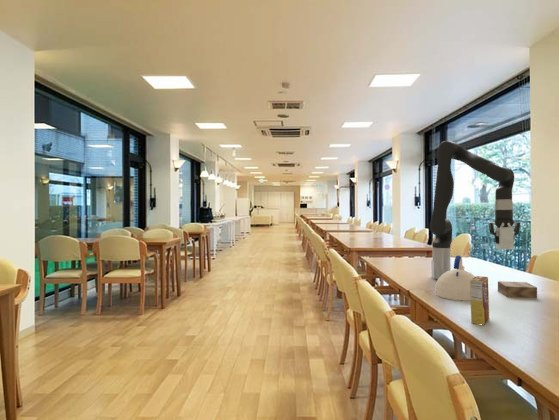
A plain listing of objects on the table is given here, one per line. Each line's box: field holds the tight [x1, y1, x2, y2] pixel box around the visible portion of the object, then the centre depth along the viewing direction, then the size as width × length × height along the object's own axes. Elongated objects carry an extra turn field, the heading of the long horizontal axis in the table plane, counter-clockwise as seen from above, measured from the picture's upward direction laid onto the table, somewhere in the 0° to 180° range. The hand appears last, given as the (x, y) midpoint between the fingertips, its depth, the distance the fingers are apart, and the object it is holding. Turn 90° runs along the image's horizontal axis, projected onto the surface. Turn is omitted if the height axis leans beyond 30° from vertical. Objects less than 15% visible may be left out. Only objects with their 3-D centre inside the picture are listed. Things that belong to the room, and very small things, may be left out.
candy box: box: [470, 275, 490, 326], centre depth 134 cm, size 9×4×15 cm, turn 140°
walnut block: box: [497, 280, 538, 299], centre depth 173 cm, size 12×12×5 cm
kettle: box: [434, 255, 476, 302], centre depth 173 cm, size 20×21×18 cm
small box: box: [494, 226, 515, 250], centre depth 186 cm, size 8×6×10 cm
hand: (504, 243), depth 186 cm, fingers closed on small box, 5 cm apart
